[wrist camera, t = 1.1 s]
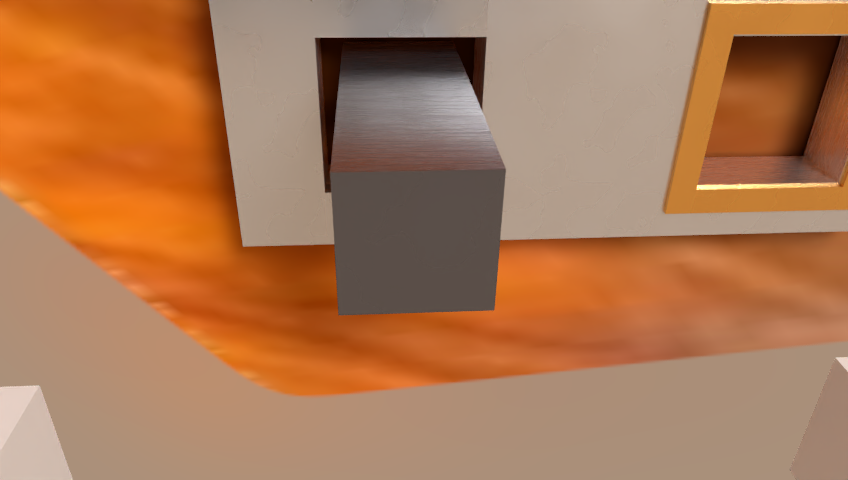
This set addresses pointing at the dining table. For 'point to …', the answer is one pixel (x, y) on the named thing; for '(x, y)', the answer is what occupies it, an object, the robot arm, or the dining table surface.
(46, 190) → the dining table surface
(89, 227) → the dining table surface
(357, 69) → the steel peg
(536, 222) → the grey peg hole board
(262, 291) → the dining table surface
